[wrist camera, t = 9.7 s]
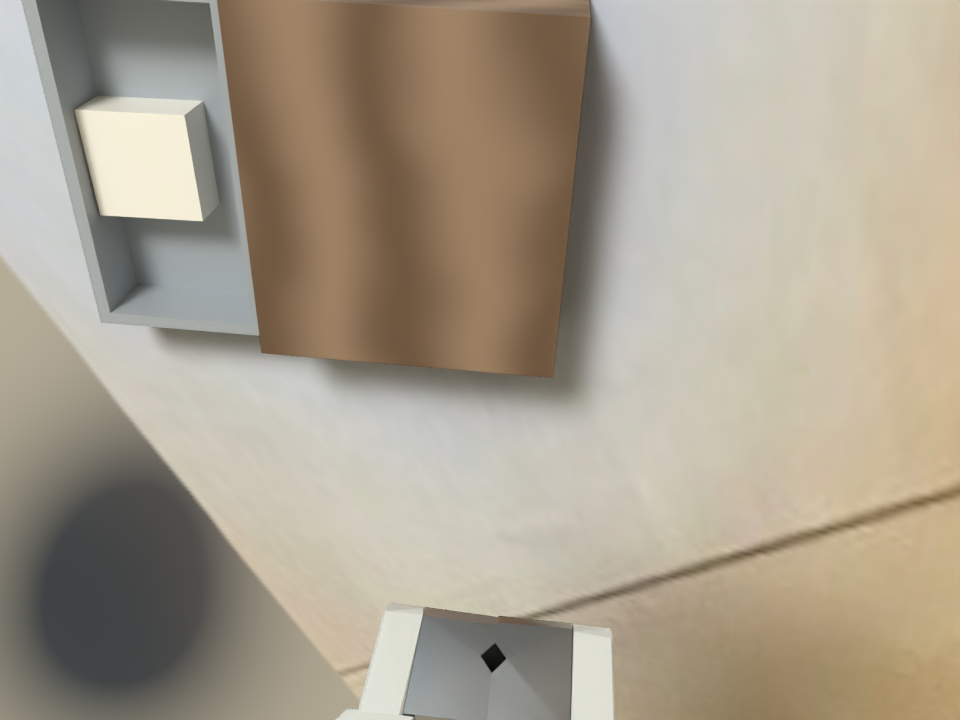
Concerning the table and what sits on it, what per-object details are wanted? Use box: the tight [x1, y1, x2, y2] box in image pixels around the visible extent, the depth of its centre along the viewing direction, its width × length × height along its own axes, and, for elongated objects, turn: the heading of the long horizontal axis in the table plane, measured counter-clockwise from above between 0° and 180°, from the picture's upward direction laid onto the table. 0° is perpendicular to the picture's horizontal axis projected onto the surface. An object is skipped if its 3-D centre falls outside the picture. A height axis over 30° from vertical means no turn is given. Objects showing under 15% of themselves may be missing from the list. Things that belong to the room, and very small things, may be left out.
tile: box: [74, 96, 219, 221], centre depth 39 cm, size 5×5×2 cm
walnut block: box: [217, 0, 591, 378], centre depth 37 cm, size 14×16×5 cm
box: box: [21, 0, 259, 336], centre depth 39 cm, size 8×16×4 cm, turn 178°
